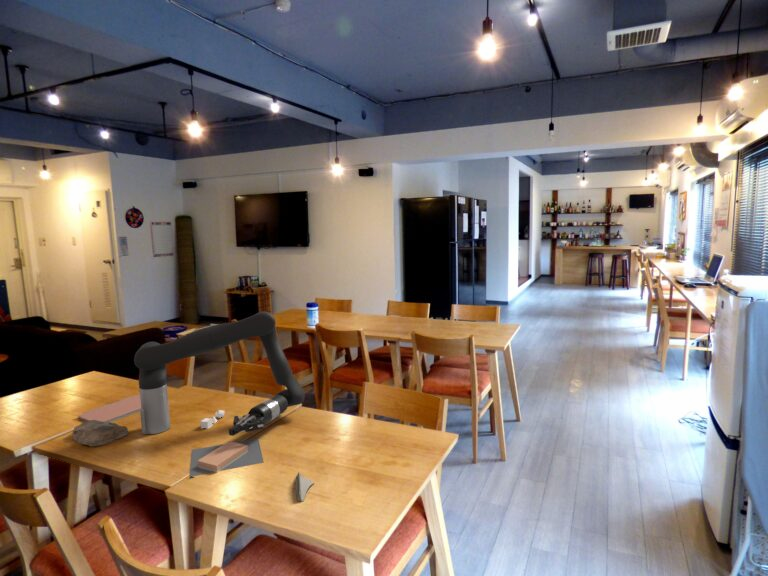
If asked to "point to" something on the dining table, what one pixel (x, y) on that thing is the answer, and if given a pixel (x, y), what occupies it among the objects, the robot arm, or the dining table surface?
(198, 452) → the mat
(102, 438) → the grey rock
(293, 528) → the dining table surface
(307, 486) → the ceramic fragment
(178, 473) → the dining table surface
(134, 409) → the notebook
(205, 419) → the game pieces
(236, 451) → the tile
